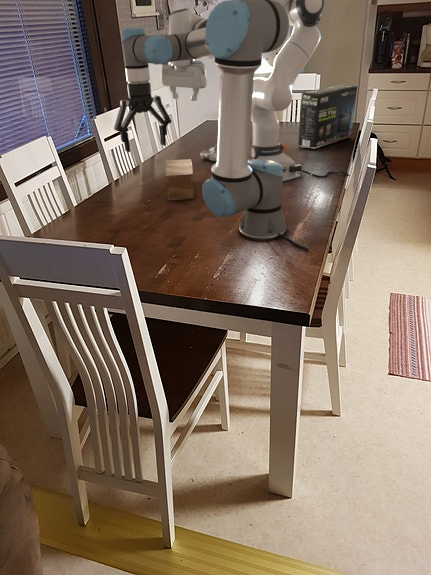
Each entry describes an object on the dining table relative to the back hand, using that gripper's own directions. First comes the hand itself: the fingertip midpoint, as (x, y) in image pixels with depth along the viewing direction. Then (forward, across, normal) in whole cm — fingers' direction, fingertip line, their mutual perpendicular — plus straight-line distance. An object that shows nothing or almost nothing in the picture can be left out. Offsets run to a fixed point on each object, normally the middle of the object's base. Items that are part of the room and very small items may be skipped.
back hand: (184, 99), depth 177 cm
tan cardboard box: (+34, -2, +9) cm, 35 cm away
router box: (+33, -19, -90) cm, 98 cm away
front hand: (+12, -6, +29) cm, 32 cm away
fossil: (+33, +13, -37) cm, 52 cm away
